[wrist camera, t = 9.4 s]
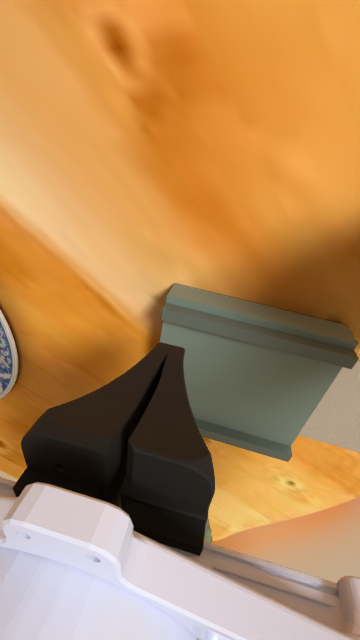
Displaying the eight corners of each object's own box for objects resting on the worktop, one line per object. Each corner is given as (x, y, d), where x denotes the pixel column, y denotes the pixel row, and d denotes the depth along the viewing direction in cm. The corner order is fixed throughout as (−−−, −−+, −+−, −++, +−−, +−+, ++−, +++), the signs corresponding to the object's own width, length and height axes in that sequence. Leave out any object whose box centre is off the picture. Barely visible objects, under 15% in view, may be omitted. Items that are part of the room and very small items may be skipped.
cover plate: (424, 367, 22) (436, 381, 20) (361, 440, 27) (367, 454, 26) (337, 345, 22) (342, 357, 21) (292, 420, 28) (294, 433, 26)
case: (346, 325, 21) (363, 351, 18) (281, 433, 28) (285, 465, 25) (174, 282, 22) (163, 301, 19) (155, 397, 30) (145, 423, 27)
